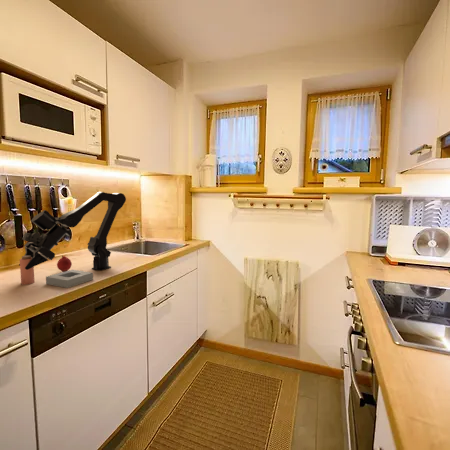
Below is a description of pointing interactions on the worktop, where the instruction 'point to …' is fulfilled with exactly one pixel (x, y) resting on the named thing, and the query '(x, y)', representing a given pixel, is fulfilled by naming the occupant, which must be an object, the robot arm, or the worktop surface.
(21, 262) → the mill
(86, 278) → the socket board
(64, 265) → the onion
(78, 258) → the worktop surface
